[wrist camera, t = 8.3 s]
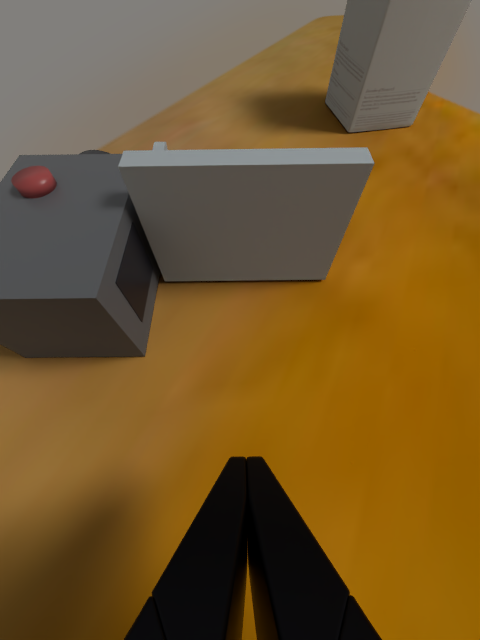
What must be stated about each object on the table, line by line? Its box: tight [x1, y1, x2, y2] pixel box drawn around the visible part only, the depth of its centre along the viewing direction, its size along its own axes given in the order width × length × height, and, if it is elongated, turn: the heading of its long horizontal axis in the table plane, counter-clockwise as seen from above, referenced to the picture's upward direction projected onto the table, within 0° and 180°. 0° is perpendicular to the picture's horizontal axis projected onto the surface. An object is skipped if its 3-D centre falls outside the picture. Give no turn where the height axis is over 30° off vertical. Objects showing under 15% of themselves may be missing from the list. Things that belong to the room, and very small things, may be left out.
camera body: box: [0, 150, 160, 358], centre depth 16 cm, size 12×7×7 cm, turn 0°
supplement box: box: [325, 0, 472, 132], centre depth 24 cm, size 7×7×13 cm
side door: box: [118, 142, 374, 281], centre depth 16 cm, size 6×11×8 cm, turn 90°
